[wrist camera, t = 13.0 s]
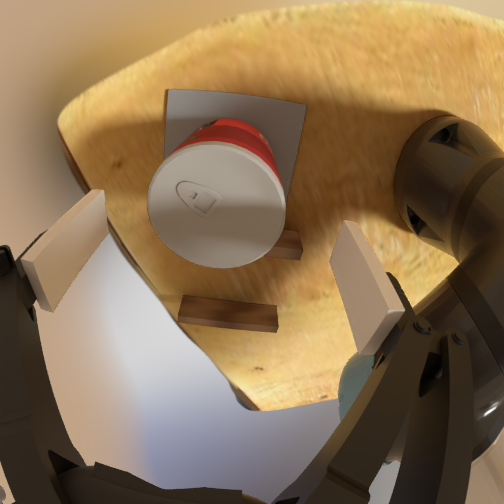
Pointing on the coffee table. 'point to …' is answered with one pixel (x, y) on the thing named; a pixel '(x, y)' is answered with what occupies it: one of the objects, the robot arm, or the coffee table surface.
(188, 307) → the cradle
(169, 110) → the mat
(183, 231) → the canned food
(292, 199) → the coffee table surface
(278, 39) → the coffee table surface
